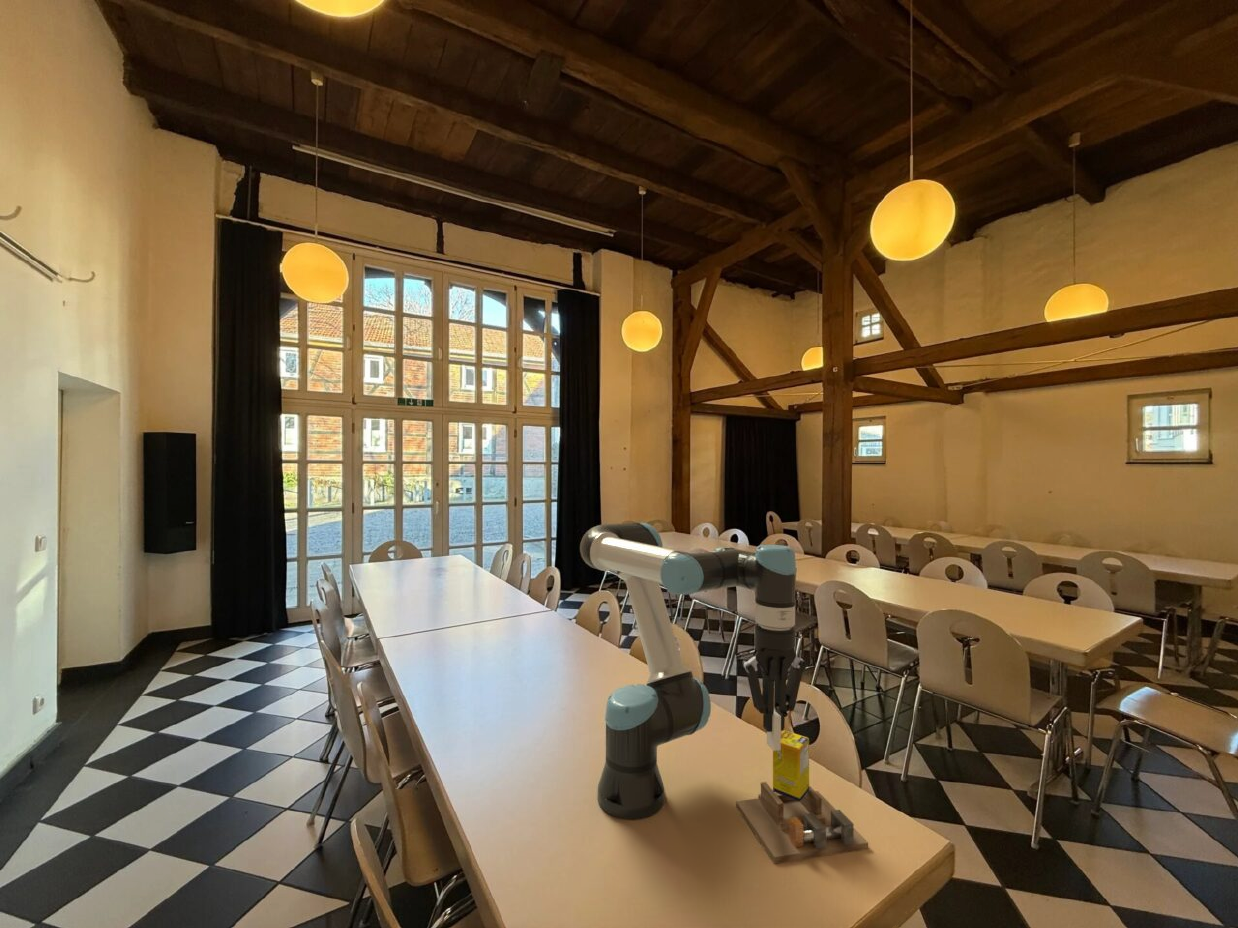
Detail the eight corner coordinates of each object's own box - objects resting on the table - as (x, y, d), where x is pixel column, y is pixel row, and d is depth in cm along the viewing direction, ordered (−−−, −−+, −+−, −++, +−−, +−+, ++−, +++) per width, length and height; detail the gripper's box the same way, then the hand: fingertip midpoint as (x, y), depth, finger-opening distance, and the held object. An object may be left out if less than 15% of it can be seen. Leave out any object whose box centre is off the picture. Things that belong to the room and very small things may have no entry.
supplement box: (782, 778, 114) (782, 728, 114) (810, 789, 110) (809, 737, 110) (771, 791, 109) (771, 739, 110) (799, 802, 106) (799, 748, 106)
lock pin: (795, 847, 99) (795, 825, 99) (789, 838, 101) (789, 817, 101) (849, 839, 101) (849, 818, 101) (841, 830, 103) (841, 810, 104)
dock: (774, 863, 96) (774, 832, 97) (735, 806, 113) (736, 780, 113) (868, 848, 100) (868, 819, 101) (817, 795, 117) (817, 770, 117)
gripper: (752, 632, 95) (751, 760, 95) (816, 629, 98) (814, 754, 98) (735, 621, 103) (734, 739, 102) (795, 618, 105) (793, 734, 105)
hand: (773, 746), depth 100 cm, fingers closed
